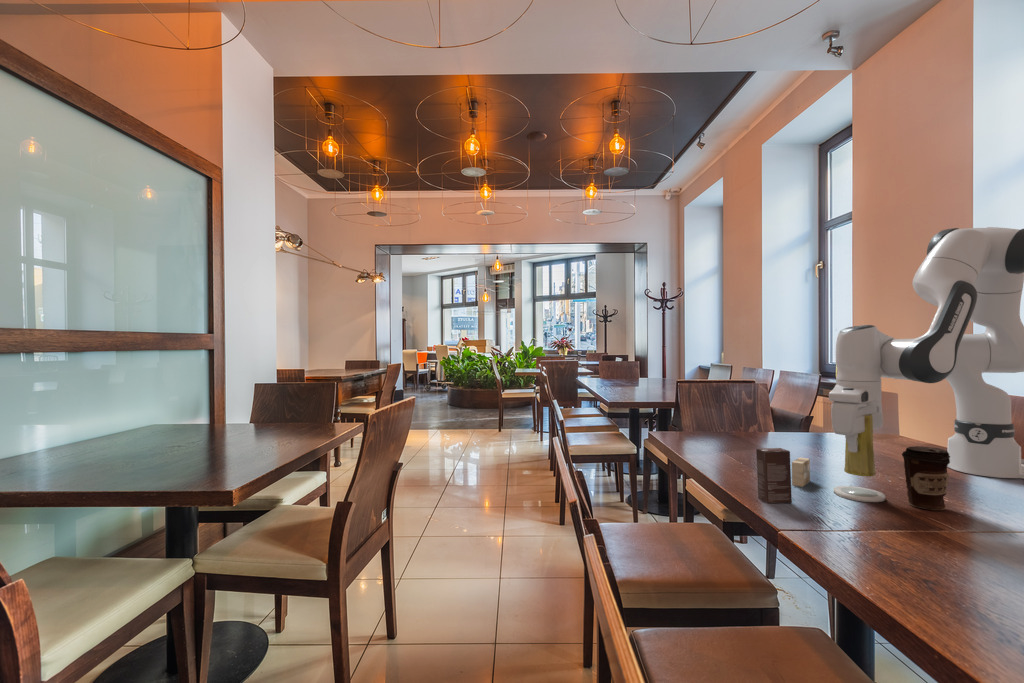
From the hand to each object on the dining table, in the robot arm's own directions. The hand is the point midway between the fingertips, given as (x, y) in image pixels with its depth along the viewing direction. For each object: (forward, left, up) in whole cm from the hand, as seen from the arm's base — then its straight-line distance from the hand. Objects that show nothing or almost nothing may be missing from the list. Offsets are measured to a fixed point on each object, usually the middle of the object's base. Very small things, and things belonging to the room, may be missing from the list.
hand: (859, 449), depth 114 cm
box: (+20, -10, -11) cm, 25 cm away
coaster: (0, 0, -11) cm, 11 cm away
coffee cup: (-3, +12, -11) cm, 17 cm away
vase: (0, 0, -6) cm, 6 cm away
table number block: (0, -13, -11) cm, 17 cm away
